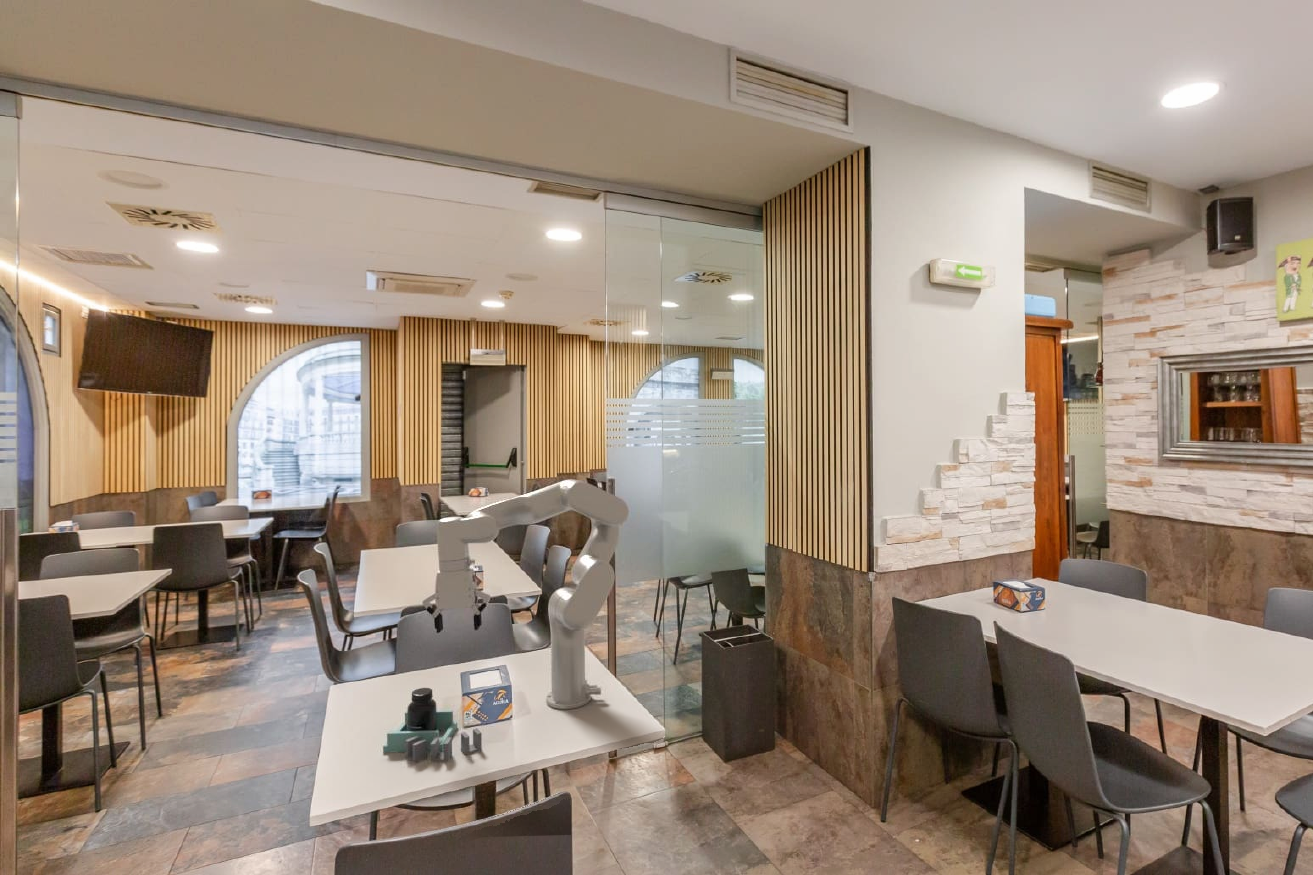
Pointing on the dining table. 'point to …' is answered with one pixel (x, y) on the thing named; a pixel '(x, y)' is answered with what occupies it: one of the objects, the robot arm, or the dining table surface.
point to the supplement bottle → (422, 711)
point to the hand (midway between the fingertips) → (458, 629)
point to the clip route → (418, 748)
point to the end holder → (421, 733)
